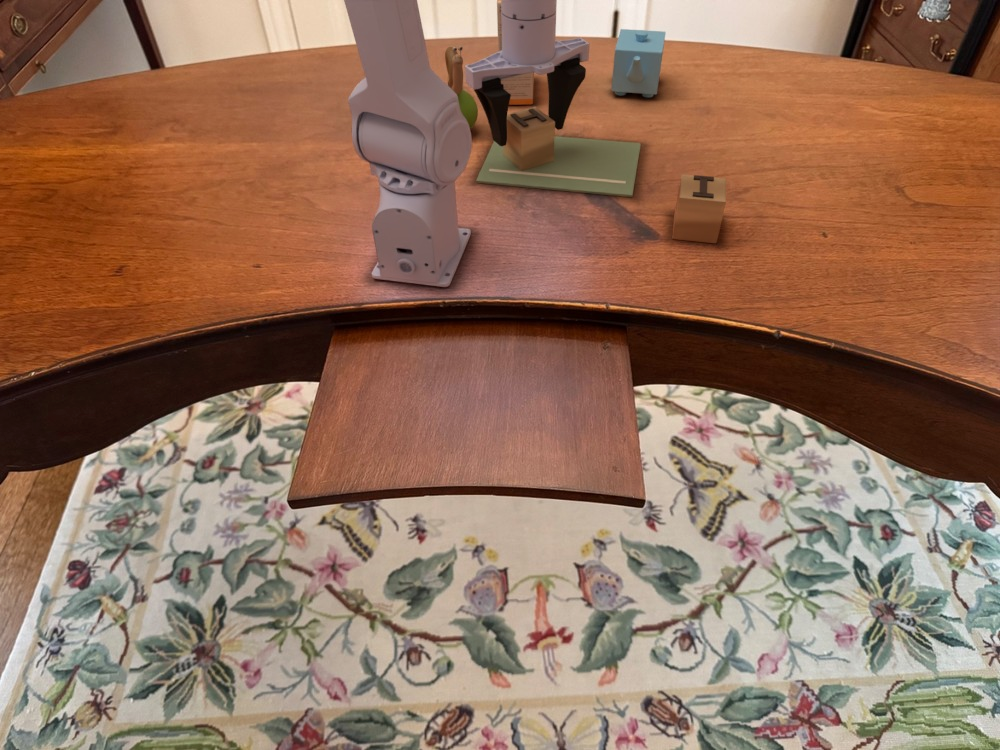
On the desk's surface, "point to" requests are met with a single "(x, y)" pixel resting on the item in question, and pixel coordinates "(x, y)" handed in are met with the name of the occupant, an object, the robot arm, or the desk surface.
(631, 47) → the teapot
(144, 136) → the desk surface
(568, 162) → the word mat
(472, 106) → the snail figurine
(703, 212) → the tile
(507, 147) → the tile
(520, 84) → the supplement box
